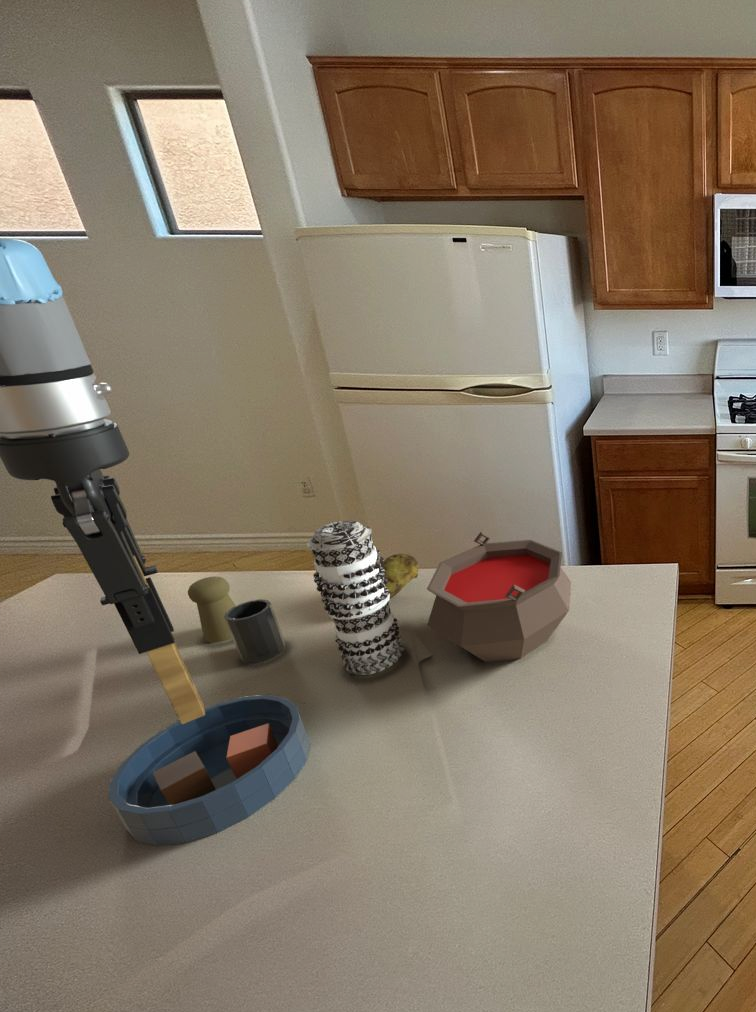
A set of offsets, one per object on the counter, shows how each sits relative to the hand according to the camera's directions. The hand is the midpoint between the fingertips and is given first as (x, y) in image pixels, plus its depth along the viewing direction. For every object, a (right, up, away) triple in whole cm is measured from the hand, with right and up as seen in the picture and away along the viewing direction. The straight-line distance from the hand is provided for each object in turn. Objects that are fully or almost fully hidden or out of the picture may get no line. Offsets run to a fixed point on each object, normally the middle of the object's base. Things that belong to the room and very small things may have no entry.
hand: (156, 640), depth 58 cm
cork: (-27, -10, +39) cm, 48 cm away
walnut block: (-5, -21, +9) cm, 24 cm away
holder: (-17, -12, +34) cm, 39 cm away
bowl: (-3, -21, +12) cm, 24 cm away
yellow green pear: (-5, -5, +49) cm, 50 cm away
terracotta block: (0, -20, +13) cm, 24 cm away
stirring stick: (0, -10, +4) cm, 10 cm away
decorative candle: (+3, -13, +32) cm, 35 cm away
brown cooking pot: (+22, -10, +39) cm, 46 cm away
